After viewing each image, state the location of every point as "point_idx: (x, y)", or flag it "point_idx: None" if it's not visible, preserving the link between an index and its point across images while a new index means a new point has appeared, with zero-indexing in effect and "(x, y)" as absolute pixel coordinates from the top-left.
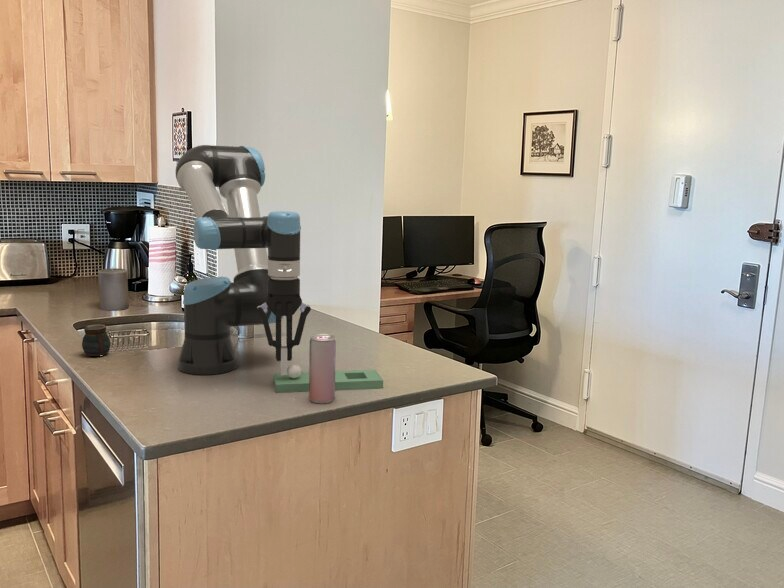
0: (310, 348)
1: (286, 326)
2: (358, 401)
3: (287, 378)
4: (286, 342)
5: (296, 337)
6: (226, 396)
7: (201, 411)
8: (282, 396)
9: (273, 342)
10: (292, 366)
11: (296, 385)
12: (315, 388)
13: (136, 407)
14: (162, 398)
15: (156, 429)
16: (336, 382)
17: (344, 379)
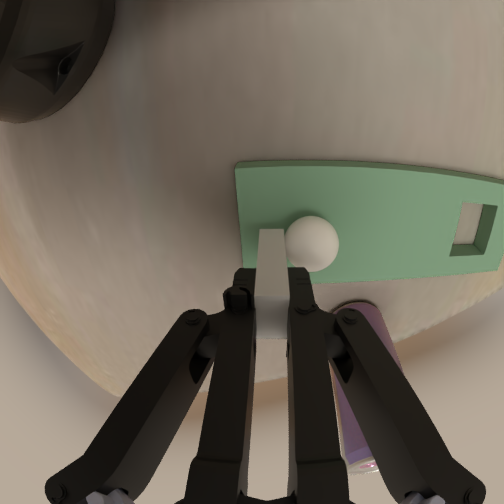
0: (341, 446)
1: (293, 407)
2: (414, 327)
3: (285, 231)
4: (289, 318)
5: (340, 380)
6: (129, 280)
7: (118, 339)
8: None
9: (213, 352)
10: (306, 267)
11: None
12: None
13: (34, 303)
14: (38, 273)
15: (97, 371)
16: (415, 277)
17: (441, 258)
